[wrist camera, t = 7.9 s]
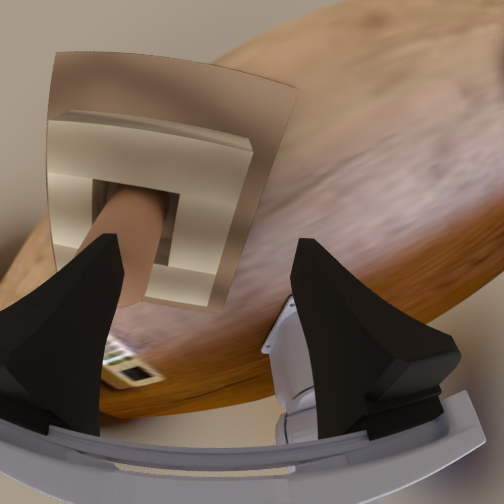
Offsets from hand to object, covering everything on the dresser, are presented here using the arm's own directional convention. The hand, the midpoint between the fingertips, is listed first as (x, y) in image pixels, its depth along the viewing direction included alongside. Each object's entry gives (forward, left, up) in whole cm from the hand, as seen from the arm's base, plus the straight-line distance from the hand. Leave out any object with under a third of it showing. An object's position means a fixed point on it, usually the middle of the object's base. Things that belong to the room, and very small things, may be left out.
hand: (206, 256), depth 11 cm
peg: (-3, +4, -9) cm, 10 cm away
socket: (-3, +4, -10) cm, 11 cm away
